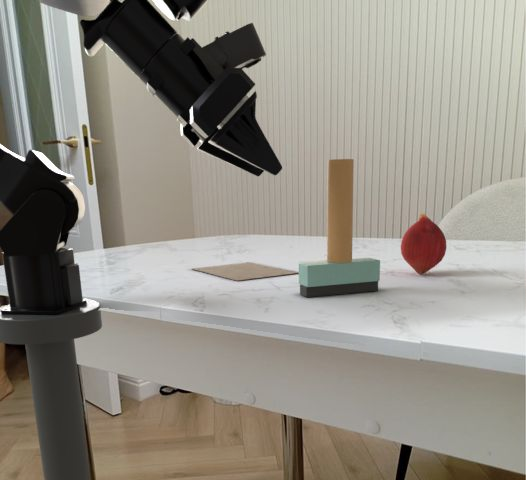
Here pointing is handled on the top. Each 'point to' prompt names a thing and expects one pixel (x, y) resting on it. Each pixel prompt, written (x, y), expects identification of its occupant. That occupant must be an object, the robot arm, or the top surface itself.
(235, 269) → the brown flat rectangular panel
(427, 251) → the onion
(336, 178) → the wiper
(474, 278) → the top surface
